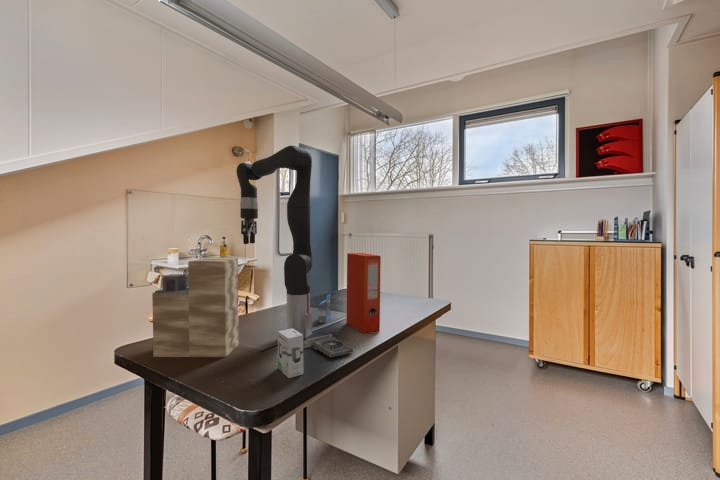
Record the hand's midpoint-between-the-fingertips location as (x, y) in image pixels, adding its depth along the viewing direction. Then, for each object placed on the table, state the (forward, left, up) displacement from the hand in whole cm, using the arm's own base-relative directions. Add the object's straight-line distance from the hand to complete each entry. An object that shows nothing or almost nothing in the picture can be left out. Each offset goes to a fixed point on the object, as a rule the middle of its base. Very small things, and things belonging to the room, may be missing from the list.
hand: (249, 243), depth 150 cm
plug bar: (+4, +33, -14) cm, 36 cm away
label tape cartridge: (-32, -12, -36) cm, 50 cm away
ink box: (-42, +43, -36) cm, 70 cm away
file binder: (-52, -6, -36) cm, 64 cm away
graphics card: (-47, +24, -37) cm, 65 cm away
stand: (-3, +36, -36) cm, 51 cm away
